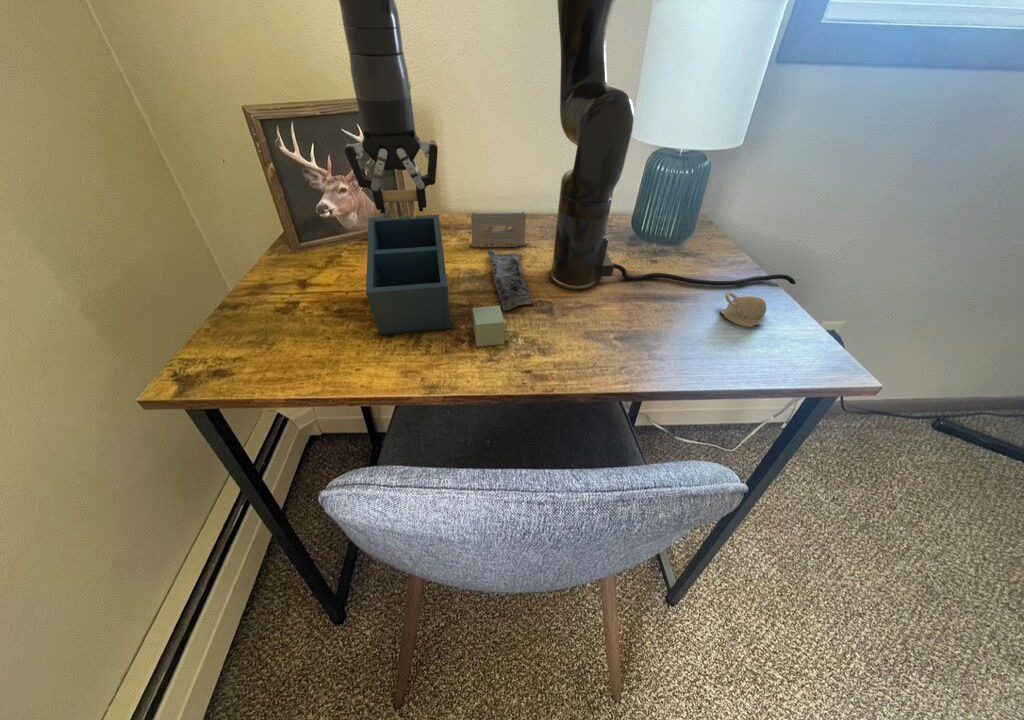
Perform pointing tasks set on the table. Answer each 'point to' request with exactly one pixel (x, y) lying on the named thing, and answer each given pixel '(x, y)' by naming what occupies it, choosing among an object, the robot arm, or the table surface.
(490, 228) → the cassette
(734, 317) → the decorative ornament
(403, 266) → the shelf
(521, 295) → the grey cloth
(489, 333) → the block
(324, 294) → the table surface
